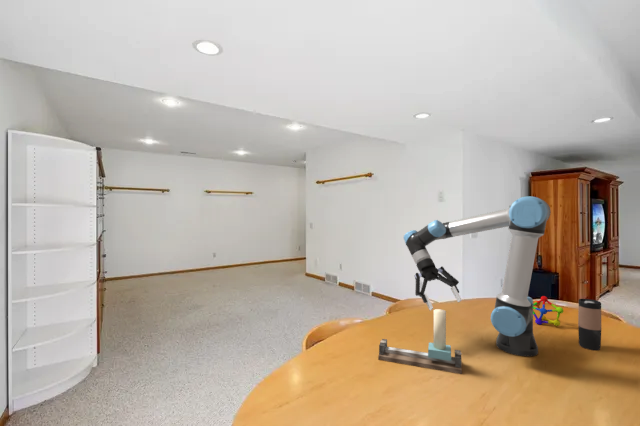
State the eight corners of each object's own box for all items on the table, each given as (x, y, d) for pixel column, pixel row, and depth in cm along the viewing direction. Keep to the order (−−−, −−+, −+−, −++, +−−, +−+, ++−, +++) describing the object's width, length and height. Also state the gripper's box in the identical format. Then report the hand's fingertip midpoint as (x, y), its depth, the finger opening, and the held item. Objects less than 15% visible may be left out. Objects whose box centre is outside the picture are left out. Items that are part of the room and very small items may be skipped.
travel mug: (597, 345, 138) (597, 299, 138) (604, 352, 131) (604, 304, 131) (575, 342, 142) (575, 297, 142) (581, 348, 135) (581, 302, 135)
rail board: (460, 361, 122) (460, 348, 122) (462, 374, 113) (462, 359, 113) (382, 349, 133) (382, 336, 133) (377, 359, 124) (377, 345, 124)
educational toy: (523, 324, 168) (520, 295, 169) (538, 320, 173) (535, 293, 175) (554, 331, 154) (551, 299, 155) (570, 327, 159) (567, 297, 161)
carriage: (450, 353, 122) (450, 309, 122) (451, 361, 116) (451, 314, 116) (428, 349, 125) (429, 307, 125) (428, 357, 119) (428, 312, 119)
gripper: (444, 259, 151) (468, 300, 139) (396, 271, 146) (416, 315, 135) (450, 251, 145) (475, 294, 133) (400, 264, 140) (421, 309, 129)
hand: (445, 305), depth 134 cm, fingers open, 13 cm apart
